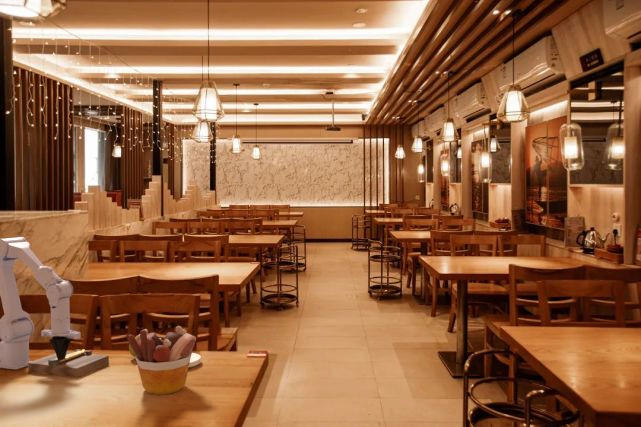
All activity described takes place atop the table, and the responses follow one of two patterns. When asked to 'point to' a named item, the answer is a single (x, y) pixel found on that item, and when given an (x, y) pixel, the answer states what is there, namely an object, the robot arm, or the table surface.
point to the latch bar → (72, 355)
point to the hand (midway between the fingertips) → (61, 358)
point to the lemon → (132, 349)
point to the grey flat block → (69, 364)
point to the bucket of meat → (163, 360)
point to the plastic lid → (194, 359)
